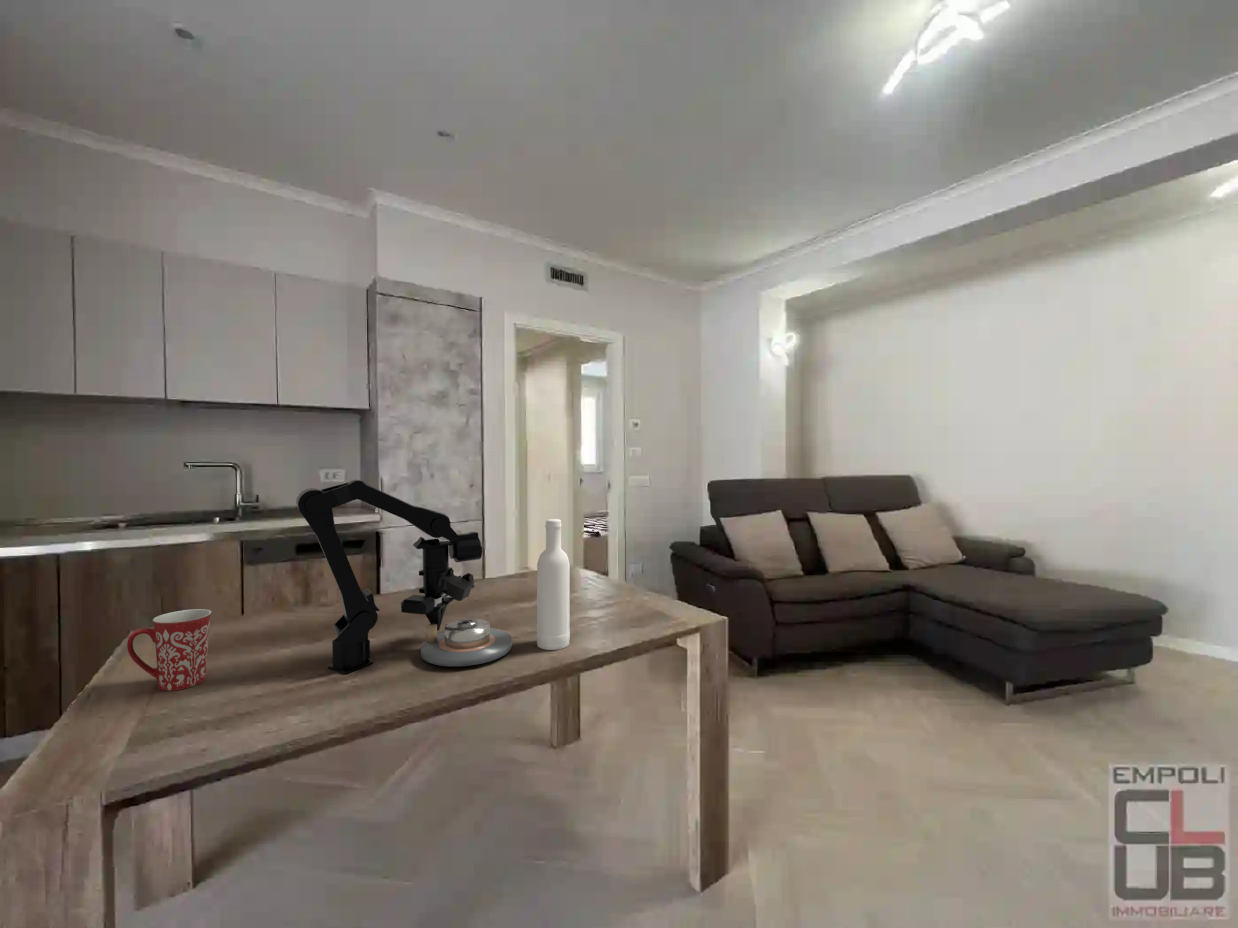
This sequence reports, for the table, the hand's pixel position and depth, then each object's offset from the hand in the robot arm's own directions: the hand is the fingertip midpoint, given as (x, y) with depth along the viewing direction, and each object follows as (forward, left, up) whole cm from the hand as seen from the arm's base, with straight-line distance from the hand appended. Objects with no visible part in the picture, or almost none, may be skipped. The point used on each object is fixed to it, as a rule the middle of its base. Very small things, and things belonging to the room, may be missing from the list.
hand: (436, 630), depth 123 cm
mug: (-40, +29, -4) cm, 50 cm away
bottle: (+15, -23, -4) cm, 28 cm away
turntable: (+1, -9, -4) cm, 10 cm away
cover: (+1, -8, -2) cm, 9 cm away
